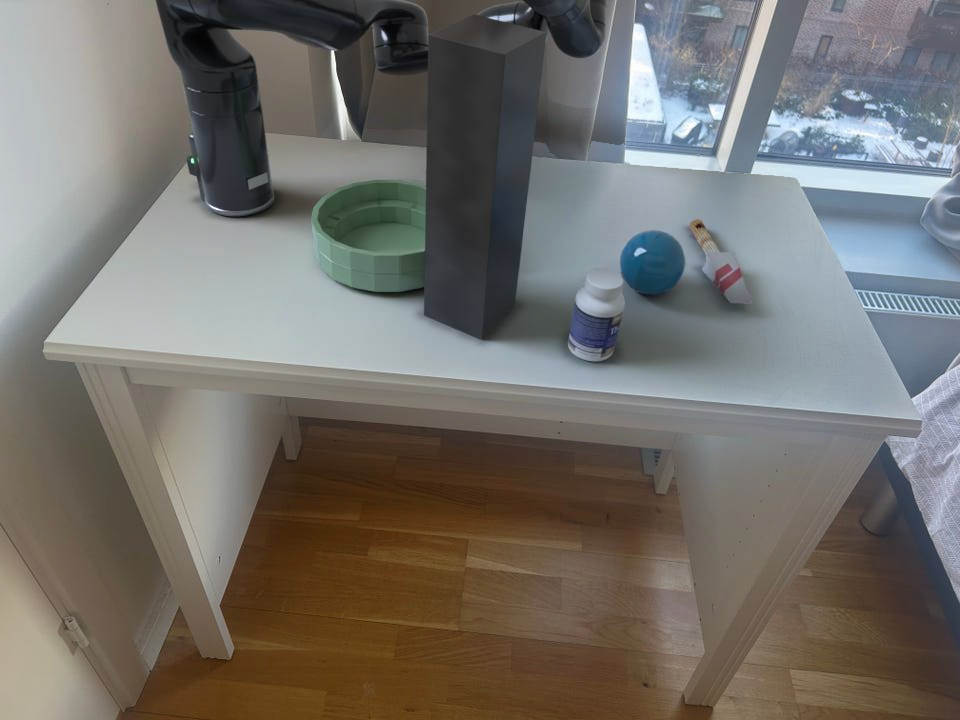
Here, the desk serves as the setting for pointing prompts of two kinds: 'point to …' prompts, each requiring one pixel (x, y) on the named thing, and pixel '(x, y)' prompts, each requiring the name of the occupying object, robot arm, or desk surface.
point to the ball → (652, 262)
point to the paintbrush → (721, 266)
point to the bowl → (372, 235)
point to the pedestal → (478, 167)
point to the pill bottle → (597, 315)
